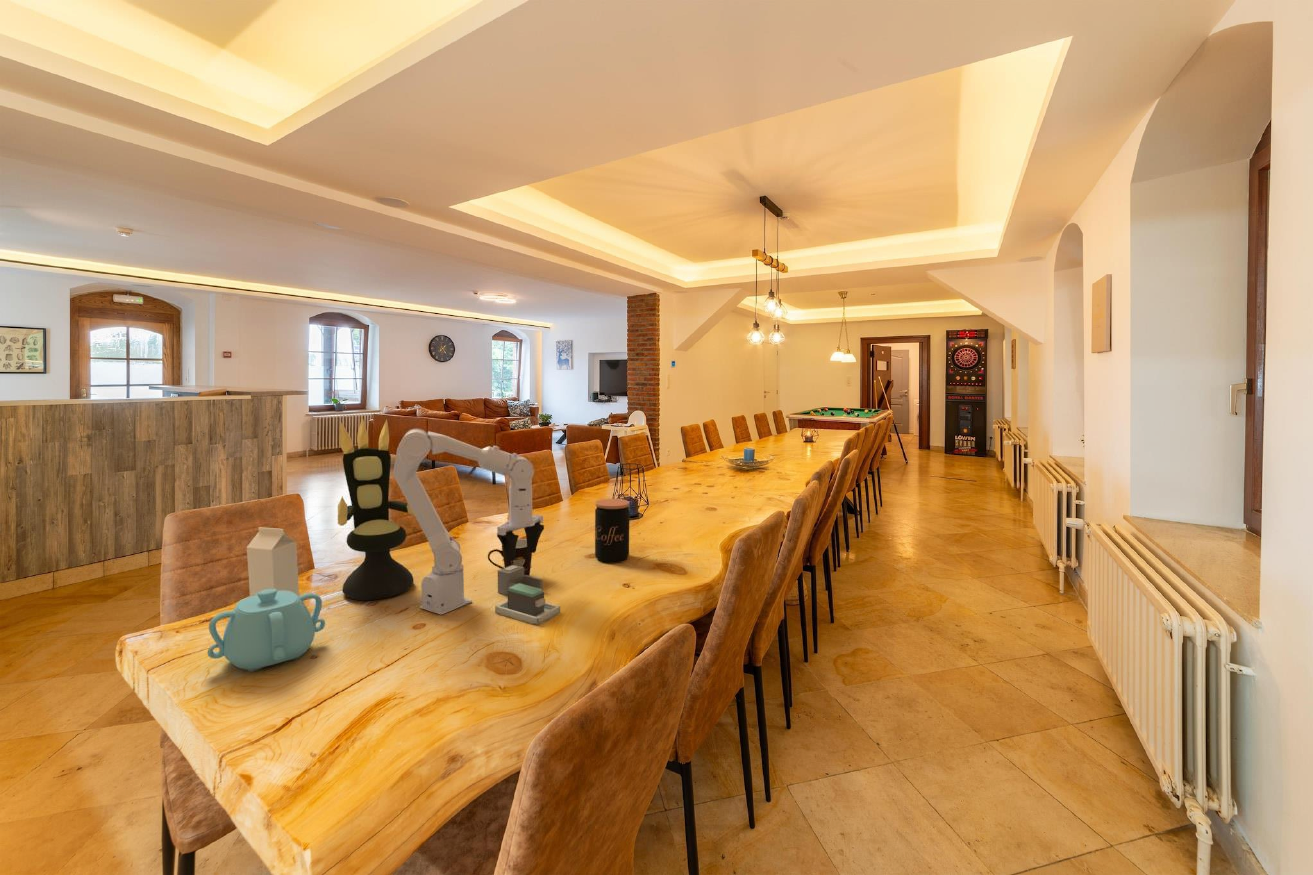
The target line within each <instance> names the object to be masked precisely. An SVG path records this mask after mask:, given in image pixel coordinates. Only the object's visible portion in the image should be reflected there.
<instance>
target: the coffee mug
mask: <svg viewBox="0 0 1313 875" xmlns="http://www.w3.org/2000/svg"><path fill="white" fill-rule="evenodd" d="M494 552H498V553H499V554H500V555H501V557H502V558H503V565H504V566H501V565H499V564H498V563H495V562H494V561H493V560H491V558H490V556H491V554H492V553H494ZM532 558H533V553H531V552H528V550H527V538H518V540H517V543H516V554H515V560H514V561H510V560H507V558H506V554H505V551H504V548H503V545H502V544H501V550H500V549H497V548H494V549H491V550H490V551H489V552H488V553H487V559H488V561H489V563H490V564H492V565H493V566H495V567H497V568H499V569H500V570H501V569H503V568H506V567H508V566H511V565H516V566H521V567H524V575H529V576H531V575H530V574H531V566H532Z"/></svg>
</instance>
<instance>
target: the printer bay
mask: <svg viewBox="0 0 1313 875" xmlns="http://www.w3.org/2000/svg"><path fill="white" fill-rule="evenodd" d="M519 583H520V584H524V585H528V586H532V587H536V588H540V589H543V578H542V577H537V576H533V575H530V576H529V575H524V567H521V566H516V565H511V566H508V567H506V568H505V567H504V568H503V569H501V568H500V569H499V570H497V593H498V594H501V595H503V596H507V597H508V592H507V591H508V590H509V587H512V586H514V585H516V584H519Z"/></svg>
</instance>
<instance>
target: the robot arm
mask: <svg viewBox="0 0 1313 875" xmlns="http://www.w3.org/2000/svg"><path fill="white" fill-rule="evenodd" d="M430 451H431V454H432V455H438V454H441V453H445V452H446V453H448V454H451V455H455V456H459V457H463V458H465V459H469V460H472V461H474V462H475V461H476V462H477V463H478V466H479V467H480V468H481V469H483V470H486V471H488V472H489V471H490V472H491V473H495V474H497V475H501V476H504V477H505V476H510V477H509V487H508V490H509V492H508V494H509V498H508V499H509V501H508V503H509V505H508V506H509V507H508V508H509V520H508V521H507V522H504V523H503V524H502V525H499V526H497V527H496V528H497V529H496V530H497V532H496V537H497V538H498V539H499V542H500V544H501V546H502V545H503V548H504V551H505V554H506V558H507V560H510V561H514V560H515V554H516V543H517V540H518V539H519V537H520V535H518V534H515V533H514V532H515V531H519V530H522V529H524V532H525V537H526V538H525V539H527V550H528V552H531V553H532V554H535V553H536V552H537V547H538V543H539V540H540V537H541V535H542V533H543V531H544V530H545V525H544V524H543V522H544V516H543V515H542V514H541V515H540V514H535V515H533V486H532V484H533V482H532V481H533V480H532V478H533V477H534V474H535V470H534V467H533V464H532V463H531V461H529V460H528V459H527V458H526V457H523V455H518V453H516V452H512V453H509V452H507V451H504V450H501V449H500V447H499V446H497V445H493V447H492V446H490V445H489V446H486V447H484V448H479V447H477V446H474V445H471V444H469V443H466V442H464V441H461V440H458V439H456V438H453V437H451V436H448V435H445V434H441V433H437V432H433V431H430V430H429V431H425V430H424V429H421V428H412V429H409V430H408V431H407V432H406V433H405V434H404V435H403V437H402V438H401V441H400V442H399V443H398V447H397V448H396V454H395V460H394V466H393V470H392V476H393V477H394V480H395V482H396V483H397V486H398V487H399V489H400V491H401V493H402V495H403V497H404V498H405V500H406V503H408V504H409V506H410V508H411V510H412V511H413V513H414V515H413V516H414V517H415V518H416V521H417V522H418V524H419V526H420V529H421V530H422V532H423V534H424V535H425V538H426V540H427V542H428V545H429V548H430V550H431V552H432V554H433V563H434V564H433V566H432V567H431V568H432V569H431V572H430V573H429V574H428V575H426V576H425V577H424V578H423V579H422V581H421V604H420V606H419V608H420V609H422V610H425V611H429V612H430V613H434V614H438V615H440V616H441V615H444V614H446V613H449V612H452V611H453V610H456V609H458V608H461V607H463V606H465V605H467V604H470V603H473V599H470V598H467V597H465V584H464V582H465V581H464V580H465V579H464V573H465V572H464V564H463V556H462V553H461V545H460V544H459V542H458V541H457V540H455V538H453V537H452V536H451V535H450V532H449V531H448V530H447V528H446V527H445V525H444V524H443V521H442V520H441V517H440V516H439V514H438V512H437V510H436V508H435V506H434V504H433V503H432V500H431V498H430V496H429V494H428V492H427V490H426V489H425V487H424V485H423V483H422V481H421V479H420V477H419V476H418V474H417V471H418V469H419V466H420V465H421V462H423V460H424V459H425V458H426V457H427V455H428V454H429V453H430Z"/></svg>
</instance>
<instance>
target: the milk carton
mask: <svg viewBox="0 0 1313 875" xmlns="http://www.w3.org/2000/svg"><path fill="white" fill-rule="evenodd" d="M297 550H298V548H297V541H296V540H295V539H293V538H292V537H291V536H288V535H287V534H286V533H285V529H284V528H274V527H261V526H259V527H258V532H257V533H256V535H255V536H254V537H253V539H251V541H250V543H249V544H248V545H247V546H246V553H247V554H246V557H247V572H248V583H249V584H248V586H249V589H248V590H249V597H251V596H255V594H256V593H258V592H260V591H262V590H266V589H276V590H277V591H282V590H285V591H291V592H293V593H295V594H297V595H298V597H299V596H300V588H299V586H300V585H299V568H298V552H297Z"/></svg>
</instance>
